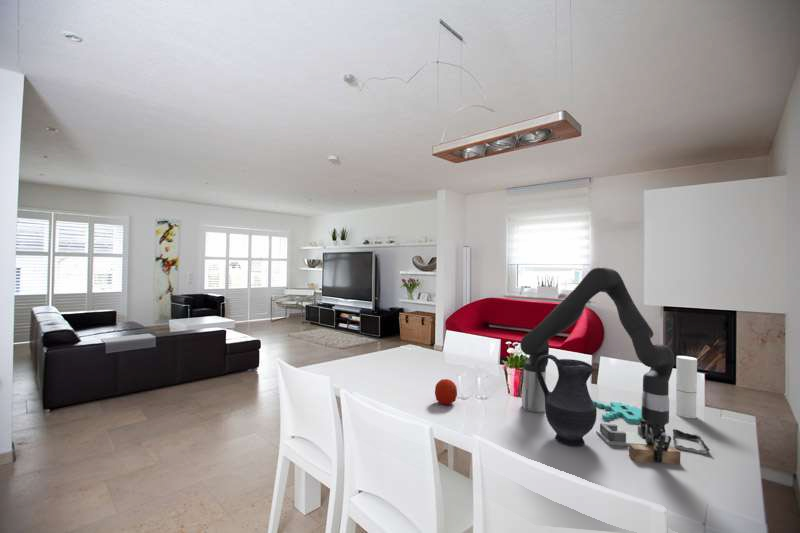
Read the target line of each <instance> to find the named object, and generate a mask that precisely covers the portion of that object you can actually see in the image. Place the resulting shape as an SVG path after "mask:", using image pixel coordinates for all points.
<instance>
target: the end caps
mask: <svg viewBox="0 0 800 533" xmlns="http://www.w3.org/2000/svg"><path fill="white" fill-rule="evenodd" d="M599 430H600V432H601V433H602V434H603V435H604V436H605V437H606V438H607V439H608V440H609V441H620V442H626V433H625V432H626V431H622V430H621V431H619V430H618V425H617V424H616V423H601V422H600V423H599ZM637 433H638V434H639V435H641V436H642V431H641V425H637ZM656 440H660V439H656ZM657 444H659V443H657Z"/></svg>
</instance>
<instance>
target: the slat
mask: <svg viewBox="0 0 800 533" xmlns="http://www.w3.org/2000/svg"><path fill="white" fill-rule="evenodd" d="M657 447H658V446H657ZM628 456H629V457H630V458H631V459H632V460H633V461H634V462H643V461H645V463H658V464H659V463H660V464H671V465H672V464H673V465H680V464H681V451H680V449H678V448H675V447H674V446H671V447H669V448H668V451H667V452H664V451H663V452H662V462H655V461H654V446H650V445H637V444H629V446H628Z"/></svg>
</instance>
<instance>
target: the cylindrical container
mask: <svg viewBox="0 0 800 533" xmlns="http://www.w3.org/2000/svg"><path fill="white" fill-rule="evenodd" d="M675 362H676V363H675V364H676V365H675V367H676V371H675V372H676V374H675V375H676V376H675V415H677V416H679V417H682V418H686V419H692V418H693V419H696V418H697V397H698V396H697V395H698V394H697V393H698V392H697V391H698V390H697V389H698V384H697V383H698V358H697V357H693V356H688V355H676V361H675Z"/></svg>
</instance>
